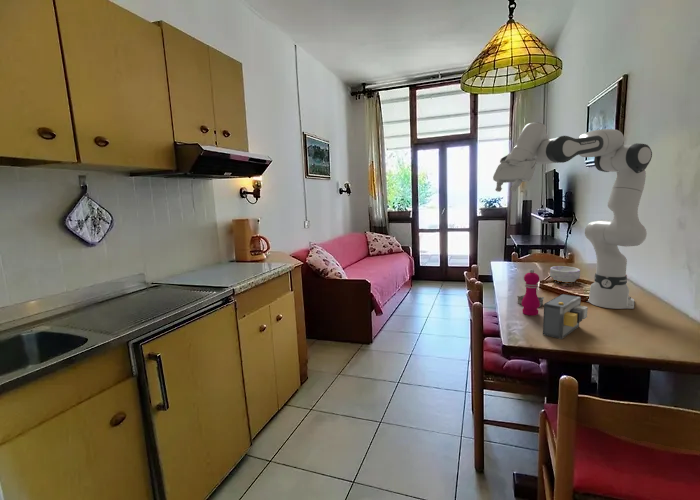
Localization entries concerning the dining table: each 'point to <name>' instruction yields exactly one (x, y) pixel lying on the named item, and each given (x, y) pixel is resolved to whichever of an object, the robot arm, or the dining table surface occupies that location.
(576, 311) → the black button
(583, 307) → the white button
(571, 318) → the amber button
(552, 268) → the paper bowls
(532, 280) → the pepper mill
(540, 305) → the egg carton
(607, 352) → the dining table surface
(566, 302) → the console
